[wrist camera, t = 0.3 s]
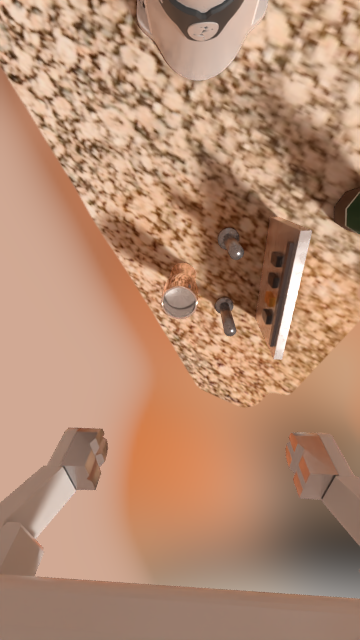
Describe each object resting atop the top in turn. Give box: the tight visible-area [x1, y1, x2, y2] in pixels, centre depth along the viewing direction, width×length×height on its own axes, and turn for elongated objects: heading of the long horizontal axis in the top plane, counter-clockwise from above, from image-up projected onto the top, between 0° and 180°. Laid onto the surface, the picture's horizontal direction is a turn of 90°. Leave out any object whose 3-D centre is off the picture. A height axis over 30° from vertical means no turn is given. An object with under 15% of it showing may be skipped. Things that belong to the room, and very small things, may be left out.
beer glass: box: [161, 263, 198, 319], centre depth 48 cm, size 7×7×15 cm
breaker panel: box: [255, 217, 312, 359], centre depth 47 cm, size 24×3×16 cm, turn 2°
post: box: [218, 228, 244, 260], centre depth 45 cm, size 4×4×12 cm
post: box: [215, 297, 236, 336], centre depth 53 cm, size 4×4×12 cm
